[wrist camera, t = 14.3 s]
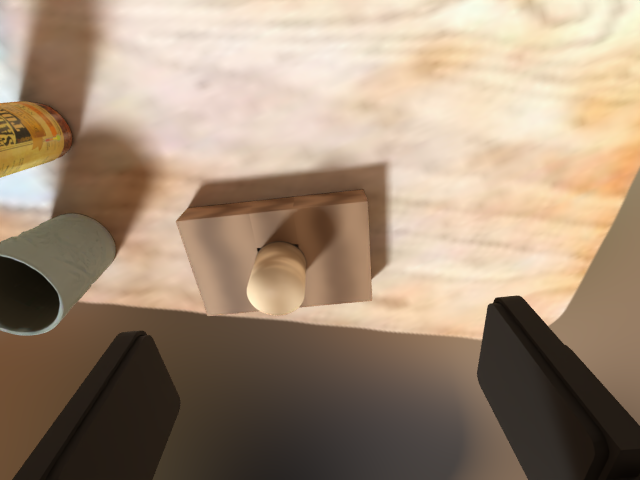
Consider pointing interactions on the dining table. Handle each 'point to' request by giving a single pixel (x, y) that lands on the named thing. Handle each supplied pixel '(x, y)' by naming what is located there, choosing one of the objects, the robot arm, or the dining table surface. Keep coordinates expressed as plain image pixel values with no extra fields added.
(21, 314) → the grey green cup
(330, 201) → the walnut slab
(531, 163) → the dining table surface
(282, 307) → the wooden peg
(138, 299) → the dining table surface
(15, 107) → the sauce bottle
